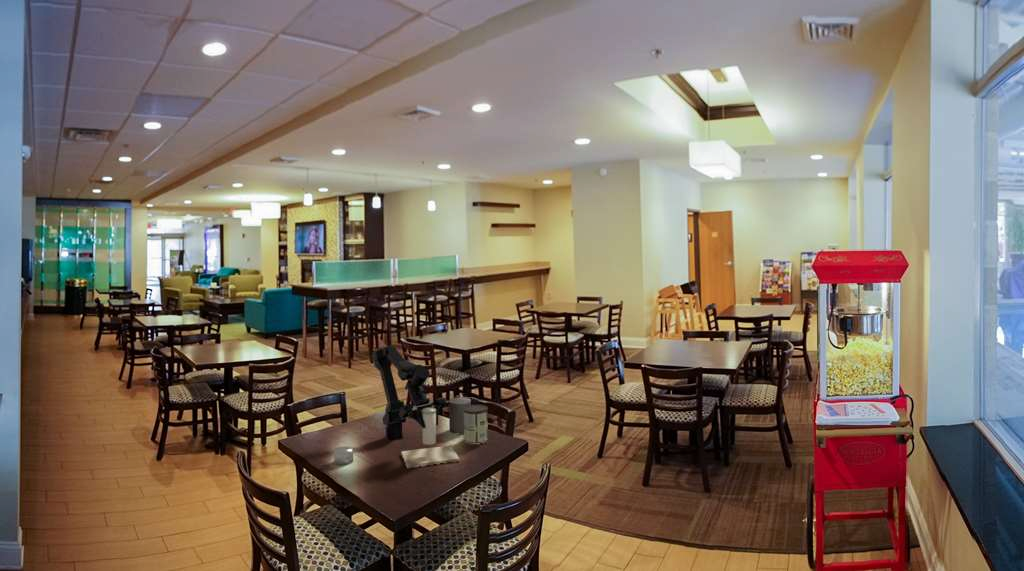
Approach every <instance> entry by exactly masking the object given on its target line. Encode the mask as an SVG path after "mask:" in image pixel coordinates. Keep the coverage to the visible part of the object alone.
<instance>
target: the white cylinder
mask: <svg viewBox="0 0 1024 571" xmlns="http://www.w3.org/2000/svg"><path fill="white" fill-rule="evenodd" d="M422 417H423V420H424V423H425V428H424V429H423V427H422V426H421V427H422V430H421V431H422V444H424V445H425V446H426V445H427V446H428V445H434V444H436V443H437V426H436V409H435V408H424V409H422Z"/></svg>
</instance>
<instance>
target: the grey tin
mask: <svg viewBox="0 0 1024 571" xmlns="http://www.w3.org/2000/svg"><path fill="white" fill-rule="evenodd" d="M333 460H334V461H333V462H334V465H335V466H338V465H339V467H341V466H342V465H344V466H348V464H349V465H351V464H353V463H352V462H354V447H352V446H340V447H336V448H335V449H334V450H333ZM342 467H343V466H342Z"/></svg>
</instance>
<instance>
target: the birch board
mask: <svg viewBox="0 0 1024 571" xmlns="http://www.w3.org/2000/svg"><path fill="white" fill-rule="evenodd" d="M401 456H402V460H403V459H404V460H403V462H404V464H405V467H406V469H412V468H420V467H419V466H421V467H428V466H427V465H429V466H434V465H433V464H437V465H441V464H440V463H444V464H448V463H447V462H452V463H456V462H455V461H459V462H460V457H459V456H458V454H457V452H456V450H454V448H453V446H452V445H443V446H435V447H426V448H418V449H410V450H402V451H401Z"/></svg>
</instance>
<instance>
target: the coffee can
mask: <svg viewBox="0 0 1024 571" xmlns="http://www.w3.org/2000/svg"><path fill="white" fill-rule="evenodd" d="M463 411H464V433H463V437H464V438H463V441H465V442H466V443H465V442H464V443H465V444H467V443H469V444H468V445H474V444H476V445H481V444H480V443H483V444H485V443H484V442H486V441H487V440H488V441H489V434H488V432H489V431H488V430H489V429H488V428H489V427H488V426H489V424H488V423H489V422H488V418H489V417H488V411H489V408H488V406H487V405H483V404H471V405H469V406H466V407H464V408H463ZM488 441H487V442H488ZM487 442H486V443H487Z"/></svg>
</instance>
